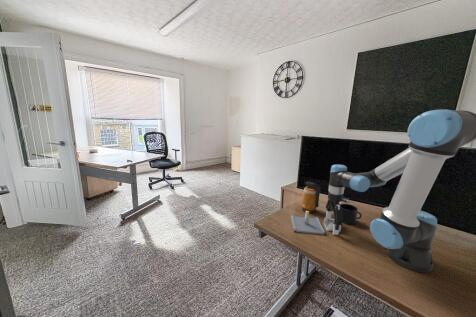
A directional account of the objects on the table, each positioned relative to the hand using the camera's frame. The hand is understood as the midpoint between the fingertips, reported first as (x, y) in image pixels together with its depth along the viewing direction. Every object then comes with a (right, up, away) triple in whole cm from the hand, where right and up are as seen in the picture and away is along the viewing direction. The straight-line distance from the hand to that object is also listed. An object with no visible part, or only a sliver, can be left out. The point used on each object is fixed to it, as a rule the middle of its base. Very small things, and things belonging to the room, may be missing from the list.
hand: (331, 227), depth 110 cm
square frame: (0, 0, 0) cm, 0 cm away
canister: (-5, +4, +21) cm, 21 cm away
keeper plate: (-14, 0, +2) cm, 14 cm away
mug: (+15, +1, +8) cm, 16 cm away
